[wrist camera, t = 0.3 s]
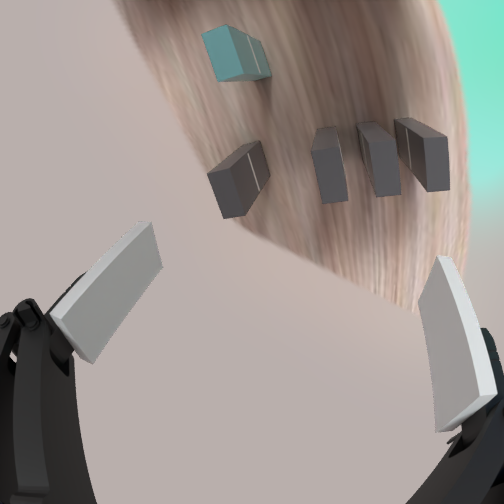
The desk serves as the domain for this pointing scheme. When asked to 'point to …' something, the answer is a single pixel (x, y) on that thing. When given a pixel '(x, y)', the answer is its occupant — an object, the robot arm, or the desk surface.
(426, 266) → the desk surface
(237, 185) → the domino
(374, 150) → the domino
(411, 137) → the domino
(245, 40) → the domino
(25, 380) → the robot arm
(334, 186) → the domino
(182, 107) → the desk surface
